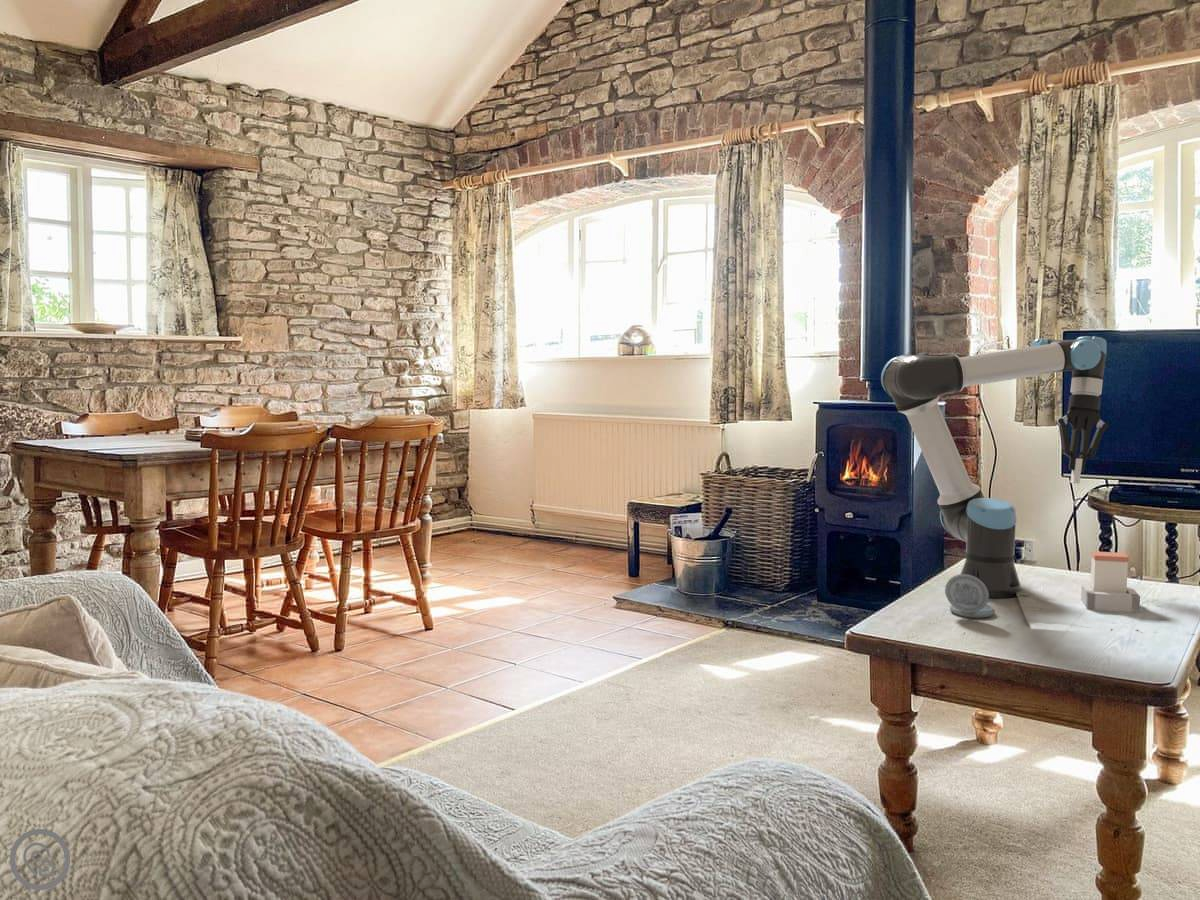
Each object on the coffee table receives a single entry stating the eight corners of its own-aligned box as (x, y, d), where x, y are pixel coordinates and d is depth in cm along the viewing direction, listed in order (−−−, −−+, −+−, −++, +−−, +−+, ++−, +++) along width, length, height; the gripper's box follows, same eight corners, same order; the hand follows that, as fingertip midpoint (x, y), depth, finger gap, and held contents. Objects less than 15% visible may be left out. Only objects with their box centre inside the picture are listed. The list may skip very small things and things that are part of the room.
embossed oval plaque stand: (943, 572, 230) (958, 560, 242) (942, 618, 231) (957, 604, 244) (988, 577, 225) (1002, 564, 237) (987, 624, 226) (1000, 609, 238)
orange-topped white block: (1089, 599, 242) (1091, 551, 241) (1122, 601, 240) (1124, 552, 238) (1092, 604, 237) (1094, 555, 236) (1126, 607, 235) (1128, 557, 234)
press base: (1068, 595, 251) (1069, 575, 251) (1130, 599, 247) (1131, 579, 246) (1080, 615, 232) (1081, 594, 232) (1147, 619, 228) (1148, 598, 228)
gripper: (1105, 399, 267) (1095, 486, 266) (1055, 393, 269) (1045, 479, 268) (1116, 396, 259) (1105, 486, 259) (1064, 391, 261) (1053, 479, 261)
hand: (1074, 482), depth 264 cm, fingers closed
